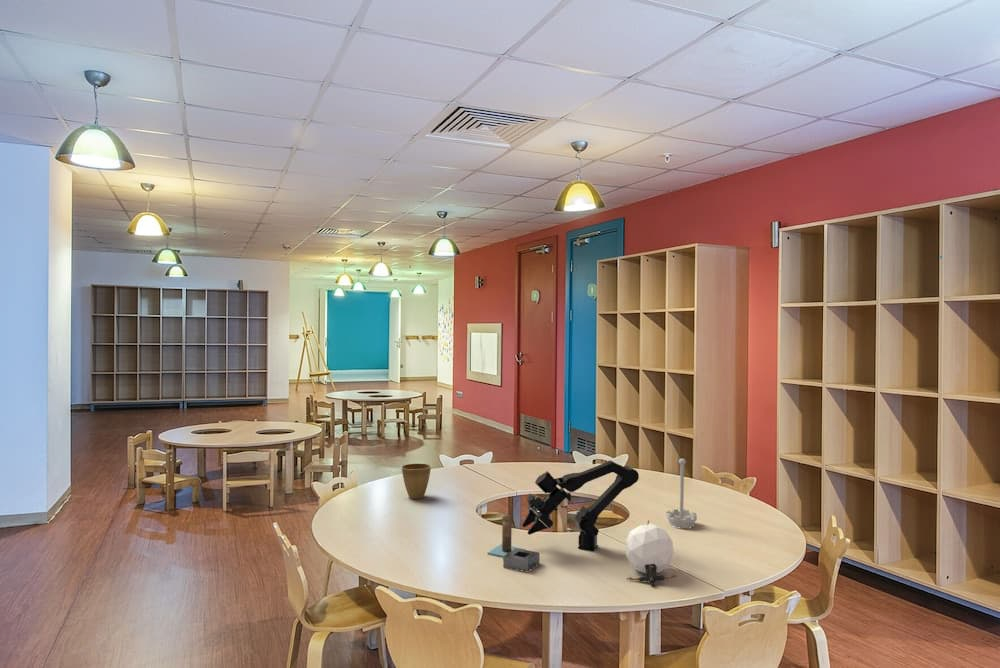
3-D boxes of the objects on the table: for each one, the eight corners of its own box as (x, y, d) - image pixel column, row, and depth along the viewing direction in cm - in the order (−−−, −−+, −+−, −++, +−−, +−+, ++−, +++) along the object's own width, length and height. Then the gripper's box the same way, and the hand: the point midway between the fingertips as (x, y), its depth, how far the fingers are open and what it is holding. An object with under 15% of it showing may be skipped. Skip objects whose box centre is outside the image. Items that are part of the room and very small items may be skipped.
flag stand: (697, 530, 282) (699, 462, 281) (667, 528, 284) (668, 460, 284) (695, 521, 295) (696, 456, 294) (665, 519, 297) (666, 454, 297)
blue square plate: (525, 550, 255) (525, 549, 255) (512, 559, 245) (512, 557, 245) (500, 545, 260) (500, 544, 260) (487, 554, 250) (487, 552, 250)
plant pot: (434, 494, 336) (435, 464, 335) (424, 502, 321) (424, 470, 321) (408, 492, 339) (408, 462, 339) (396, 499, 325) (396, 468, 325)
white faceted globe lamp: (674, 544, 244) (666, 499, 233) (681, 601, 223) (673, 554, 212) (628, 547, 248) (618, 503, 237) (630, 603, 227) (620, 557, 216)
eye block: (539, 563, 241) (539, 552, 241) (527, 572, 233) (527, 561, 233) (515, 558, 246) (515, 547, 246) (503, 566, 237) (503, 556, 237)
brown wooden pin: (513, 551, 252) (513, 514, 252) (505, 553, 250) (506, 515, 250) (507, 548, 255) (507, 511, 255) (499, 550, 253) (500, 513, 253)
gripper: (533, 481, 264) (506, 509, 262) (545, 493, 245) (516, 523, 243) (551, 499, 265) (525, 527, 263) (564, 513, 247) (536, 543, 245)
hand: (525, 530), depth 254 cm, fingers open, 9 cm apart
